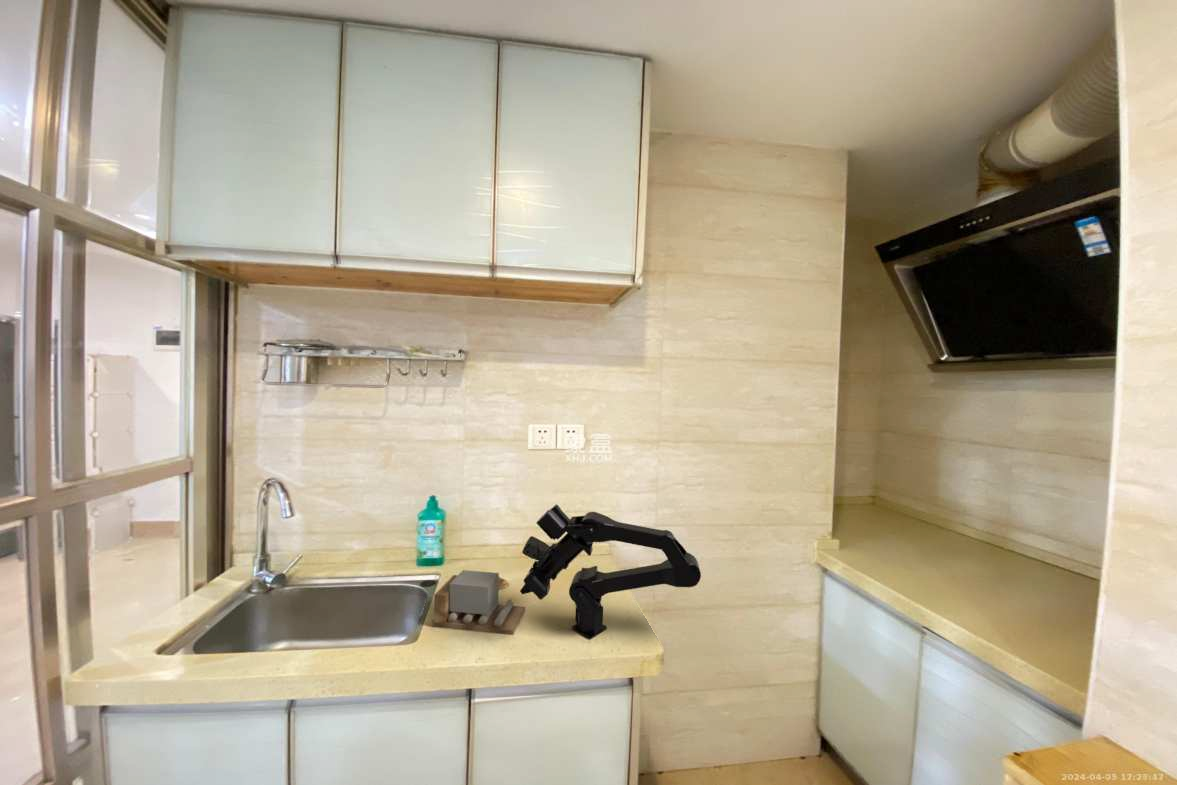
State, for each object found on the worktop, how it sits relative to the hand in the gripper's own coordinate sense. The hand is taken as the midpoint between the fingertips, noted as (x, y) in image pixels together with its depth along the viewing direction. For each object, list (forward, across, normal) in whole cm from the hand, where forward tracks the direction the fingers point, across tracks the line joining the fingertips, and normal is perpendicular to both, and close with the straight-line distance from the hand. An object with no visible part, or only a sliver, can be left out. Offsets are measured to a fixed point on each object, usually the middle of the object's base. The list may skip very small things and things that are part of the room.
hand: (521, 592), depth 112 cm
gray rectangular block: (+12, 0, -6) cm, 13 cm away
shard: (+15, -16, -3) cm, 22 cm away
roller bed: (+13, 0, -2) cm, 13 cm away
